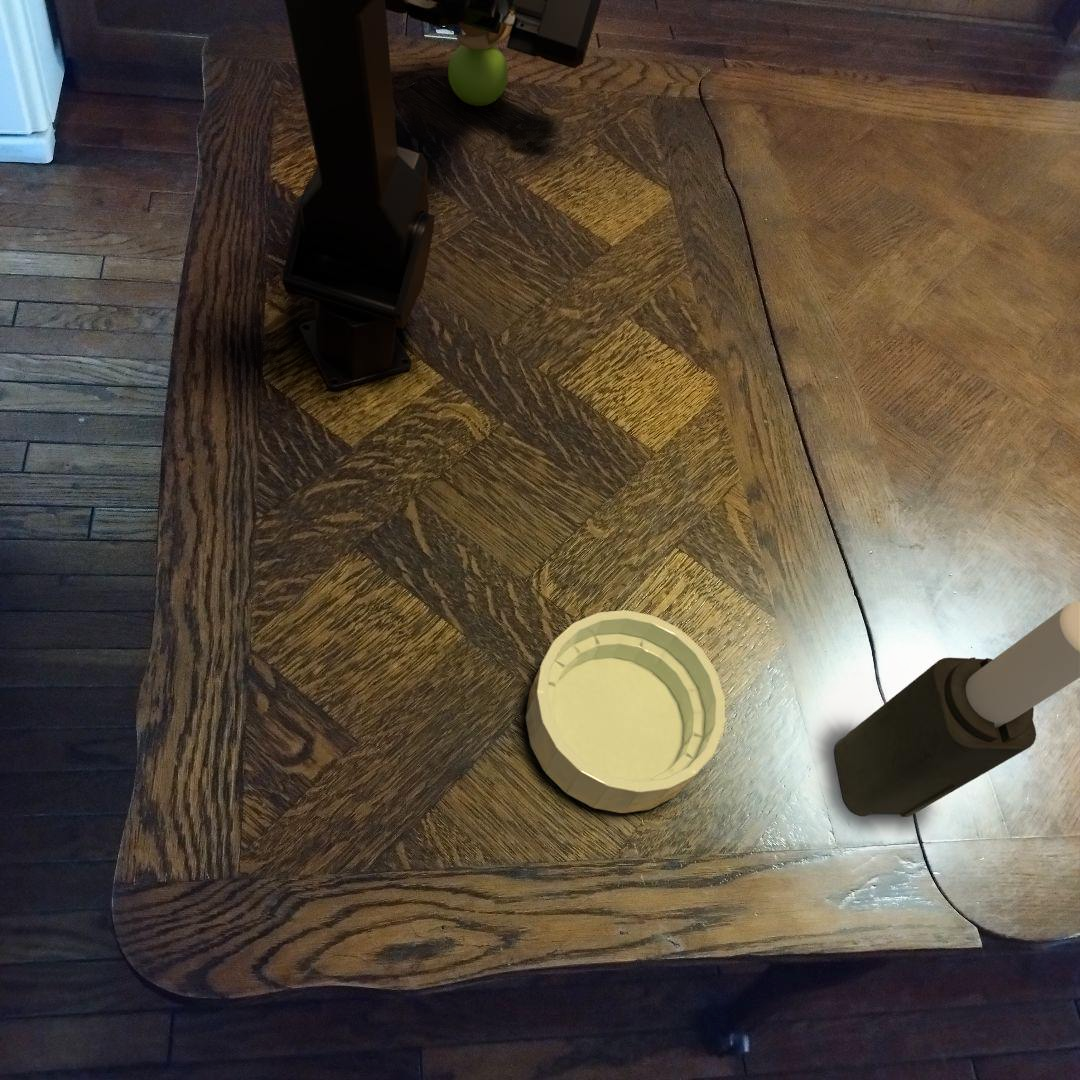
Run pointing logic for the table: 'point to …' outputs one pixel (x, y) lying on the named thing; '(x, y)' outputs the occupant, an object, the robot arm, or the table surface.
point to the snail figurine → (479, 65)
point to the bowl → (624, 711)
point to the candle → (956, 721)
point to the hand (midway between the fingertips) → (491, 24)
